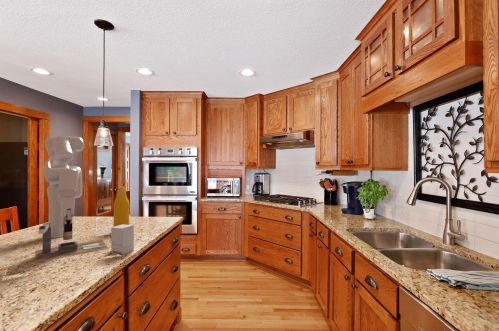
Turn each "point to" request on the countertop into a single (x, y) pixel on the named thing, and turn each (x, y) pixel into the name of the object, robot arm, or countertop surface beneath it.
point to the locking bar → (44, 227)
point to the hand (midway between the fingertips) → (67, 230)
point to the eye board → (65, 248)
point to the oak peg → (68, 234)
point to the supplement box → (122, 238)
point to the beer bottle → (121, 208)
